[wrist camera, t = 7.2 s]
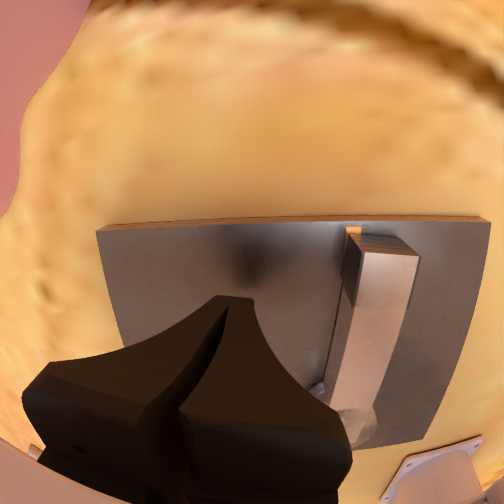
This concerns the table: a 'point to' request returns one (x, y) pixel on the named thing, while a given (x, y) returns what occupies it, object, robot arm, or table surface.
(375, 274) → the lever
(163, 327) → the plate
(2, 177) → the clip
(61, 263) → the table surface
